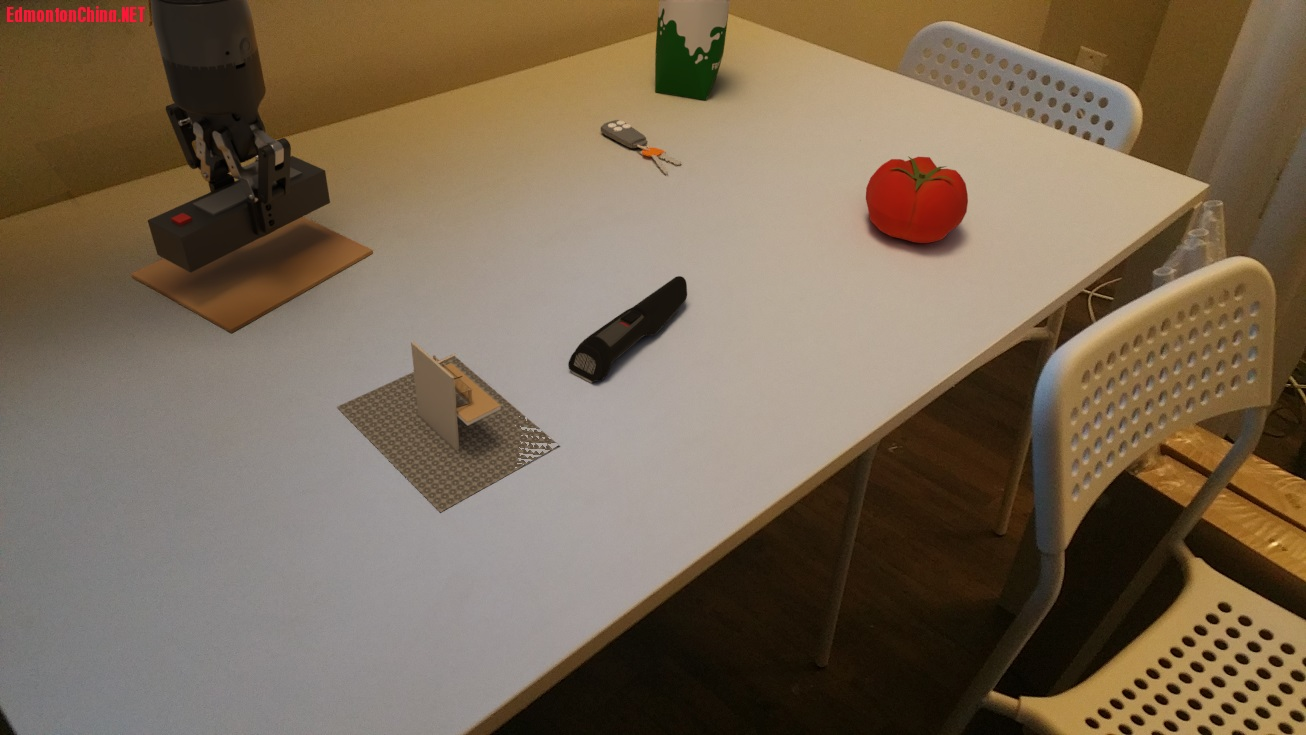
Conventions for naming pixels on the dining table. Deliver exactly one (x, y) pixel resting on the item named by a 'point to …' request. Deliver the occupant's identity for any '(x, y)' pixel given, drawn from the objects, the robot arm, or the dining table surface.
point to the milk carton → (689, 46)
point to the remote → (231, 218)
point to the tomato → (916, 199)
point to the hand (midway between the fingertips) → (247, 222)
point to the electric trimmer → (627, 331)
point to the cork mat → (256, 273)
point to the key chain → (635, 141)
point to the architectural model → (445, 429)
